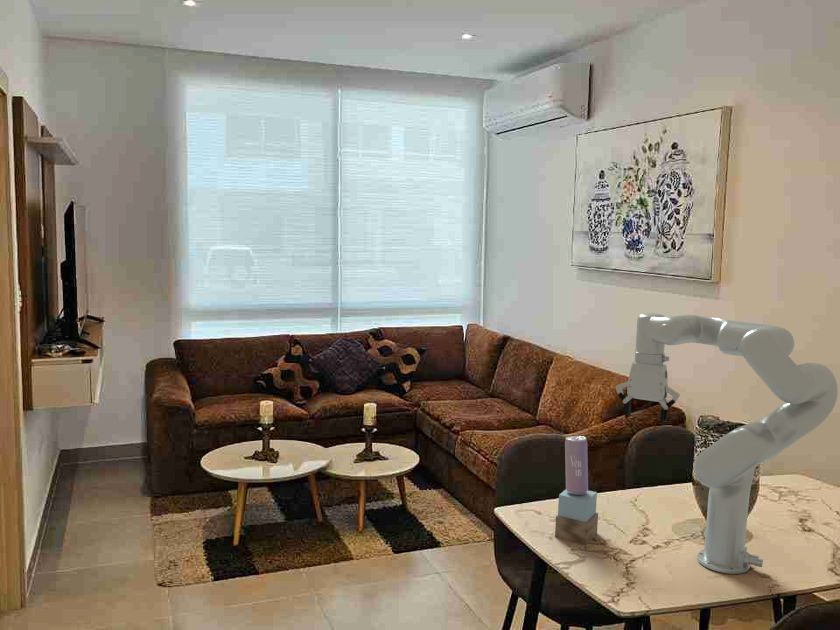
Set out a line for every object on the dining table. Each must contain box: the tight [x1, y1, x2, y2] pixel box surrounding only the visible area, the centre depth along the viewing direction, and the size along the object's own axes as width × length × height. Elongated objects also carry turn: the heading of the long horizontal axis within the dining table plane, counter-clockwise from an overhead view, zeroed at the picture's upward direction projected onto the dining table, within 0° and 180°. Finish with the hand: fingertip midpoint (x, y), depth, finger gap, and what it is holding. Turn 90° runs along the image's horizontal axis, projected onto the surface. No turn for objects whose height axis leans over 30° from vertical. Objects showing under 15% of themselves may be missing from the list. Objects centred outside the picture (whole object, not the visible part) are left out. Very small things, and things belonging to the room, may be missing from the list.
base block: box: [554, 512, 599, 546], centre depth 212 cm, size 9×9×6 cm
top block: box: [557, 489, 598, 522], centre depth 211 cm, size 8×8×6 cm
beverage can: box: [564, 435, 589, 495], centre depth 211 cm, size 6×6×15 cm
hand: (645, 419), depth 212 cm, fingers open, 9 cm apart
